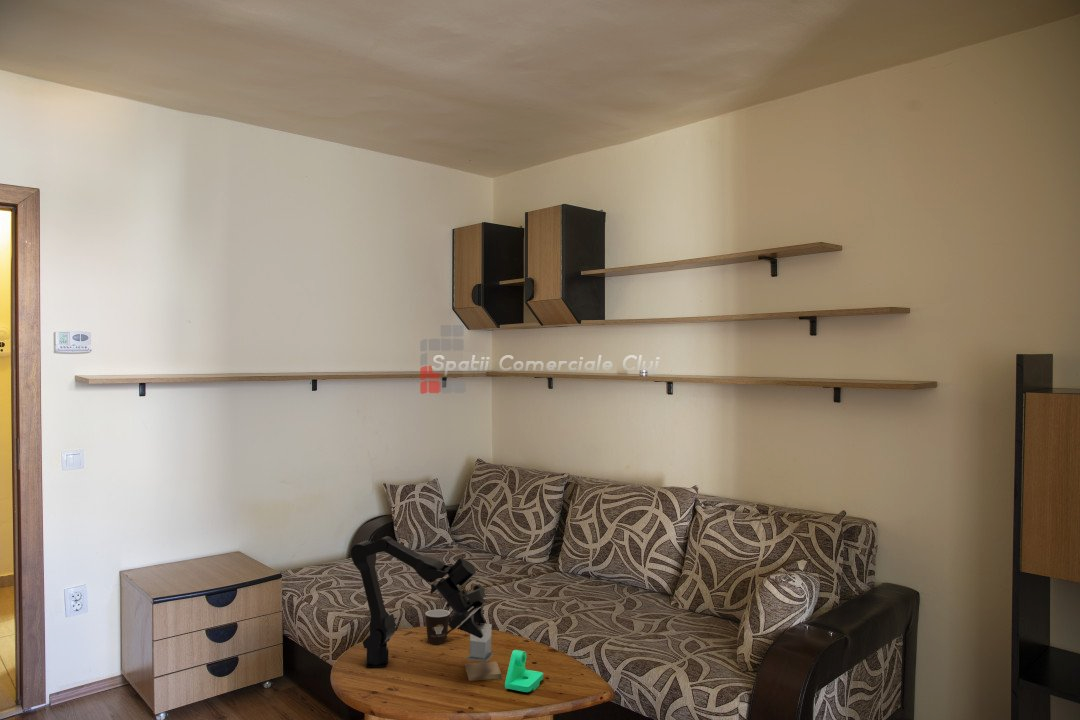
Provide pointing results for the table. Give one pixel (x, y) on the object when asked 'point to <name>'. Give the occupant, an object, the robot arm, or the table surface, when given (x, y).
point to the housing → (481, 644)
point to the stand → (483, 671)
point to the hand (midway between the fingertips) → (485, 634)
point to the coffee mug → (437, 626)
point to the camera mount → (521, 674)
